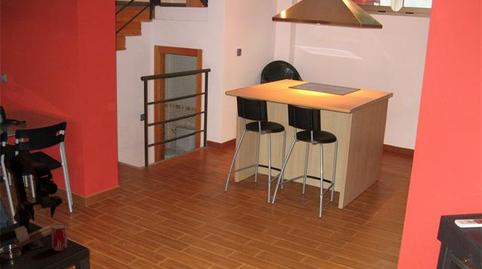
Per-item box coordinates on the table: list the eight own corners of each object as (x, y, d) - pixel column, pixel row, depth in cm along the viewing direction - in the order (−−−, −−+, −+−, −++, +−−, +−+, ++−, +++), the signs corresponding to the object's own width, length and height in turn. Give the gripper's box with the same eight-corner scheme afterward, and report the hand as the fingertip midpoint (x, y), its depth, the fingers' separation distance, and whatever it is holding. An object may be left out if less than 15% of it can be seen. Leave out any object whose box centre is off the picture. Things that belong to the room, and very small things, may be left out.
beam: (14, 243, 256) (13, 240, 255) (49, 228, 266) (49, 225, 265) (18, 247, 251) (17, 245, 251) (54, 232, 261) (53, 229, 261)
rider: (17, 239, 256) (14, 229, 254) (26, 236, 258) (23, 225, 256) (20, 243, 252) (17, 232, 250) (29, 239, 255) (26, 228, 253)
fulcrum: (26, 243, 261) (25, 237, 260) (38, 241, 264) (38, 234, 264) (31, 249, 255) (31, 242, 254) (43, 246, 258) (43, 240, 258)
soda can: (62, 252, 252) (61, 229, 250) (49, 251, 254) (48, 228, 251) (70, 246, 259) (69, 224, 257) (57, 245, 260) (56, 222, 258)
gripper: (27, 197, 246) (28, 228, 249) (66, 190, 257) (66, 220, 261) (20, 191, 254) (21, 220, 257) (57, 184, 266) (58, 213, 269)
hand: (42, 219), depth 261 cm, fingers open, 9 cm apart
